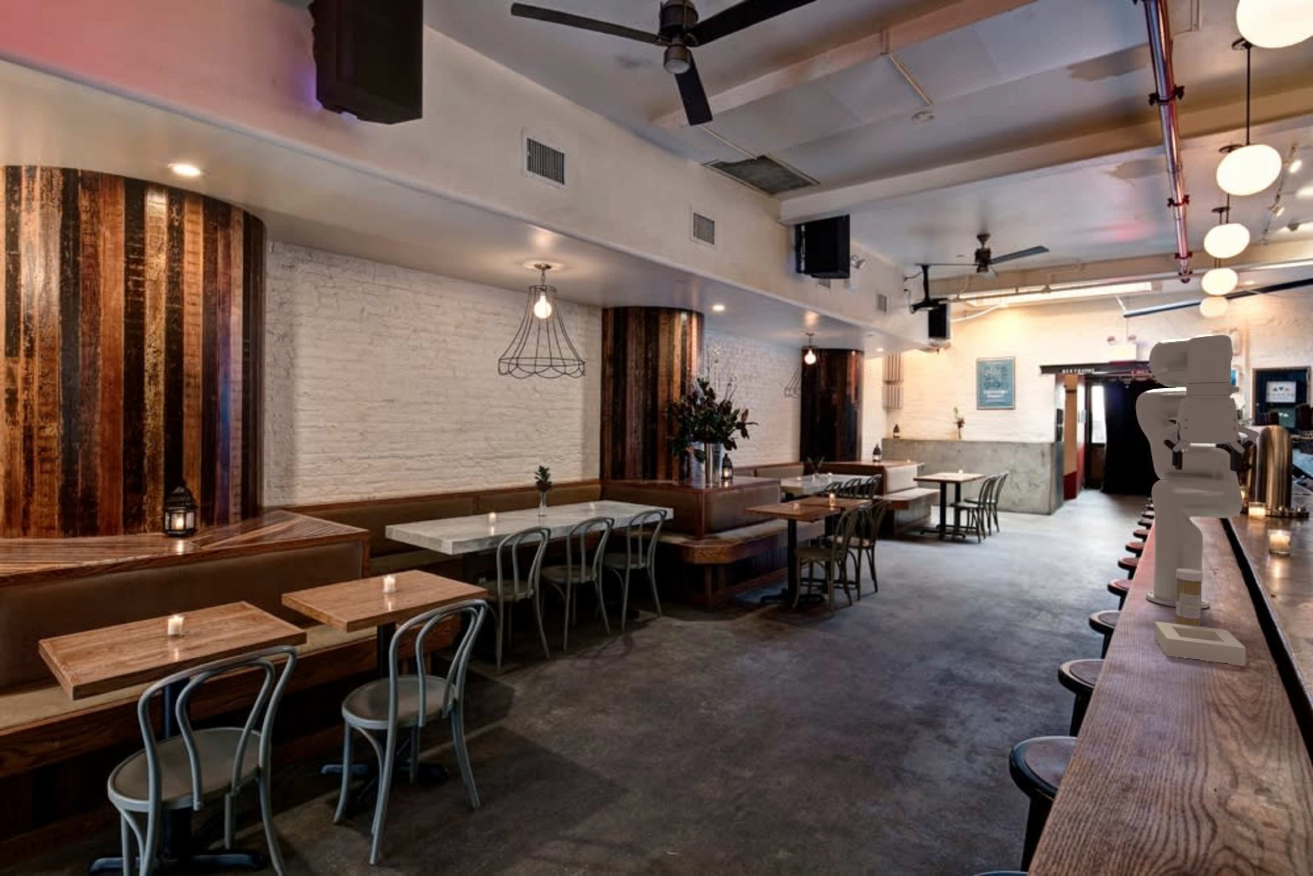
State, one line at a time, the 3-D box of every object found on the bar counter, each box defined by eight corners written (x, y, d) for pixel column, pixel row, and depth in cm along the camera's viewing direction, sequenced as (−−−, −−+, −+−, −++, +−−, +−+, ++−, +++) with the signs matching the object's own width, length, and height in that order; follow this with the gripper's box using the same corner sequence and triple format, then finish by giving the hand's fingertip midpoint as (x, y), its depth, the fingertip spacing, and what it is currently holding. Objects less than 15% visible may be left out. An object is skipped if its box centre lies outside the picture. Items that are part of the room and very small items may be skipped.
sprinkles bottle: (1177, 625, 150) (1179, 566, 149) (1203, 631, 146) (1205, 570, 146) (1172, 630, 147) (1173, 569, 146) (1198, 635, 143) (1199, 573, 143)
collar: (1154, 637, 142) (1154, 621, 142) (1226, 646, 136) (1226, 629, 136) (1166, 655, 131) (1167, 638, 131) (1245, 666, 126) (1245, 648, 126)
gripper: (1253, 392, 144) (1251, 470, 145) (1155, 393, 152) (1153, 467, 153) (1265, 390, 138) (1263, 473, 138) (1162, 392, 145) (1161, 470, 146)
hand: (1205, 470), depth 145 cm, fingers open, 9 cm apart
